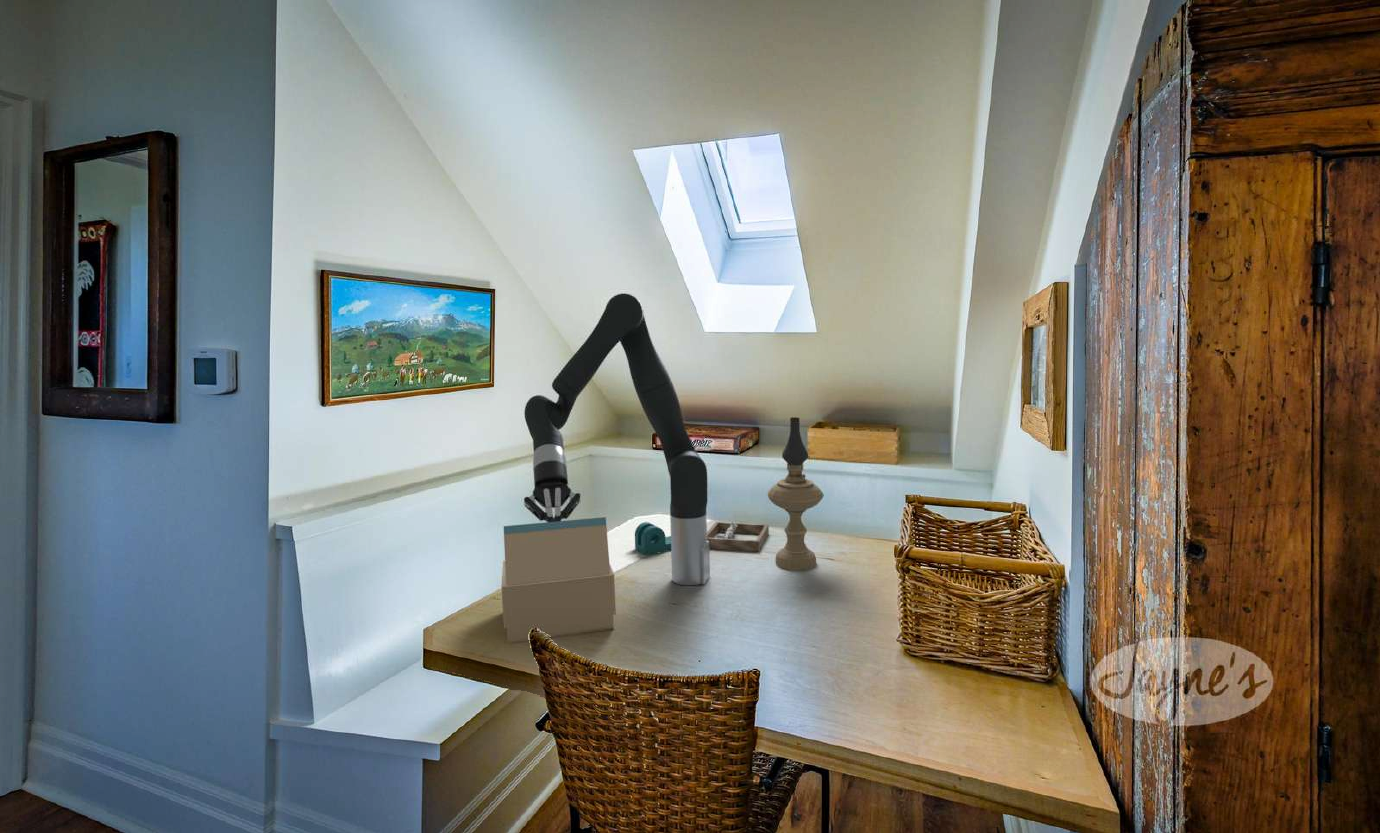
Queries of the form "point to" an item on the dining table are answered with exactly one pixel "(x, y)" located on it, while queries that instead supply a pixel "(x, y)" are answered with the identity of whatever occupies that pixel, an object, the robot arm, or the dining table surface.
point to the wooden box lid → (556, 550)
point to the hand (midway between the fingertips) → (555, 534)
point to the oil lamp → (795, 503)
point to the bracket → (651, 539)
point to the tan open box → (558, 606)
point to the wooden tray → (738, 543)
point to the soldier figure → (728, 531)
